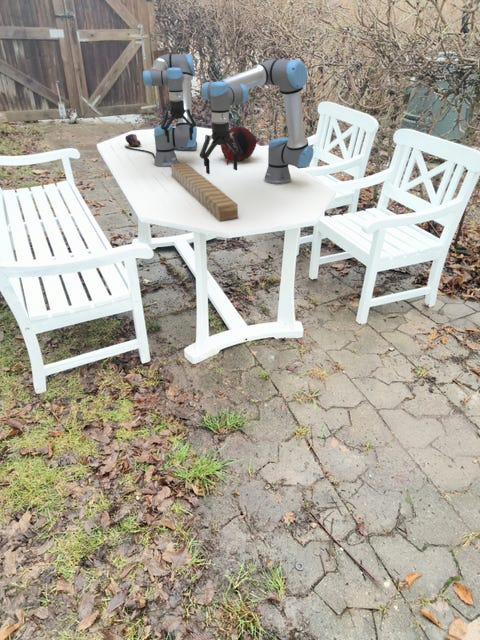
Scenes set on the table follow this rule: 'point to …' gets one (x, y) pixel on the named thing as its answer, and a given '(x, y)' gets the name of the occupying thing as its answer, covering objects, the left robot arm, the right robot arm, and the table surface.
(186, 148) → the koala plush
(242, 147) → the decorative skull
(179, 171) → the long beam
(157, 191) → the table surface
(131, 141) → the rock
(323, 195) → the table surface
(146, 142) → the table surface
